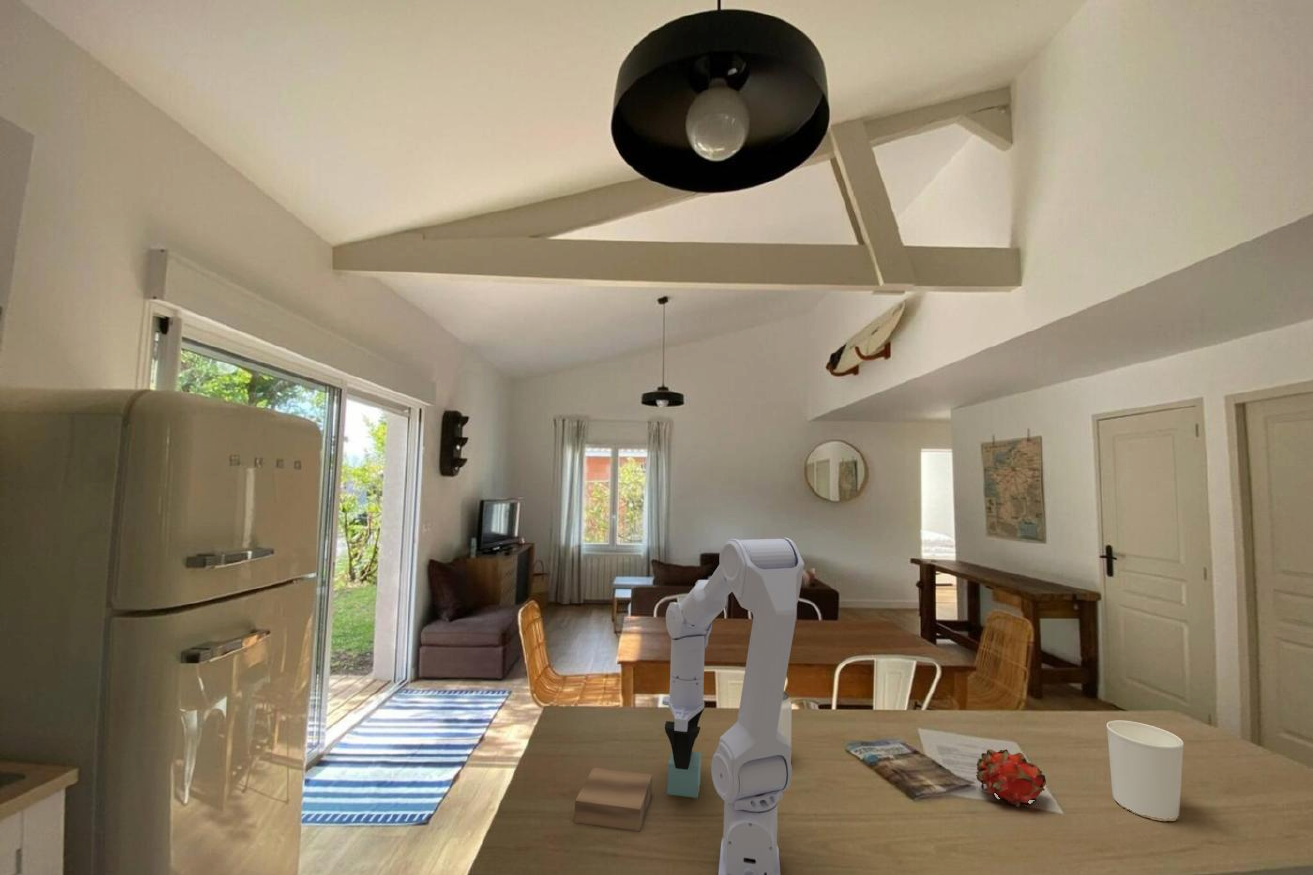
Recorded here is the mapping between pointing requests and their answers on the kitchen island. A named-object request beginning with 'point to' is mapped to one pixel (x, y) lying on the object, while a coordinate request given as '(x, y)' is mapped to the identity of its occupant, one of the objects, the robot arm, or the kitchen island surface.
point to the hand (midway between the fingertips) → (684, 756)
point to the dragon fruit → (1010, 776)
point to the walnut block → (614, 799)
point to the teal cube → (685, 777)
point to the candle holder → (1145, 768)
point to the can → (785, 718)
